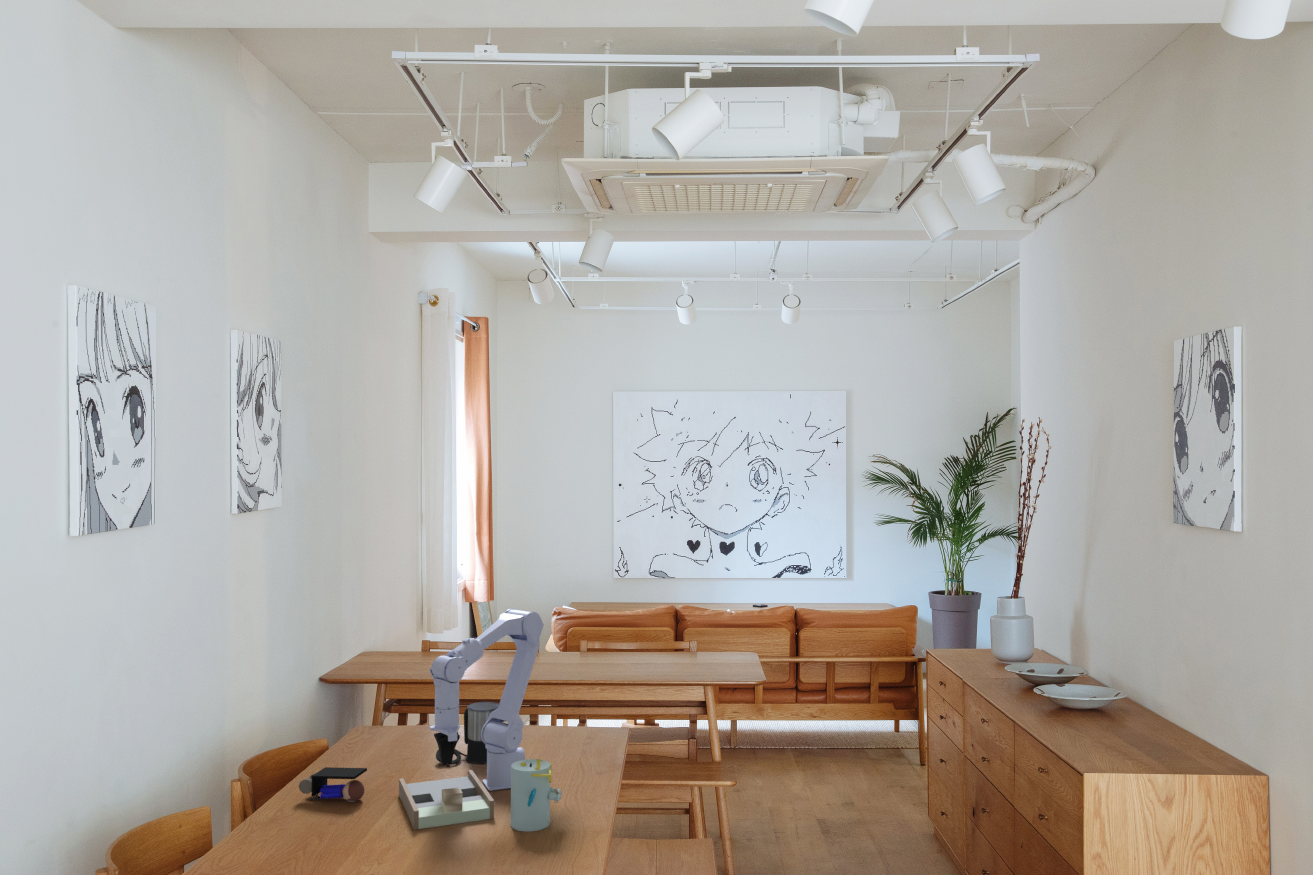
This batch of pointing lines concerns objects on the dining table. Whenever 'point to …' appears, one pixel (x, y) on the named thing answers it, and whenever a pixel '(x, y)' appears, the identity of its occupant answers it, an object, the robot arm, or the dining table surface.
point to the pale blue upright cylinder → (531, 794)
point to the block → (452, 800)
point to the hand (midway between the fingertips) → (446, 763)
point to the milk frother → (474, 733)
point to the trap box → (427, 801)
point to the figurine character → (322, 790)
